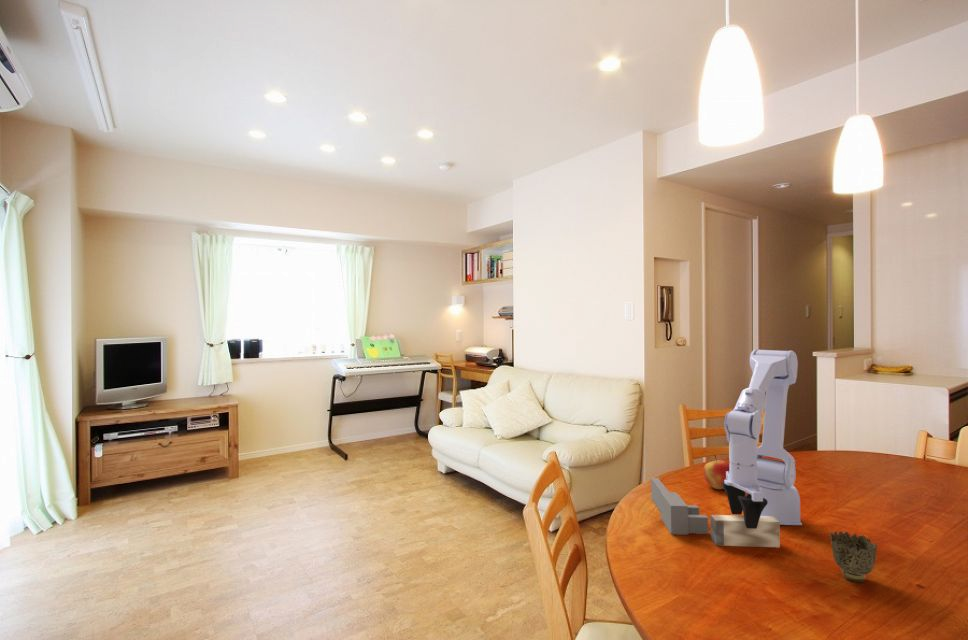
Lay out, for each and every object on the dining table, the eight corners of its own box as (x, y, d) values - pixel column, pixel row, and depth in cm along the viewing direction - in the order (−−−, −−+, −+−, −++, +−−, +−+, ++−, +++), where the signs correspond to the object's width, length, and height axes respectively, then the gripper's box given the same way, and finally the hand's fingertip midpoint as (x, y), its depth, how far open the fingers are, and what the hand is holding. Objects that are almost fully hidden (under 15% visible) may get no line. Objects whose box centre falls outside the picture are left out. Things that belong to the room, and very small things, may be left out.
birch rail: (773, 541, 111) (772, 516, 111) (779, 547, 108) (779, 521, 108) (710, 539, 113) (710, 514, 113) (715, 545, 110) (715, 520, 110)
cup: (886, 591, 91) (885, 549, 91) (842, 587, 92) (842, 546, 92) (863, 570, 98) (863, 532, 98) (823, 567, 100) (823, 529, 99)
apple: (722, 494, 140) (722, 461, 140) (698, 486, 147) (697, 454, 147) (738, 489, 144) (738, 456, 144) (714, 481, 151) (713, 450, 151)
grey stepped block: (679, 498, 137) (679, 474, 137) (709, 535, 115) (709, 506, 115) (647, 498, 138) (647, 474, 138) (671, 534, 115) (670, 505, 115)
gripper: (713, 453, 118) (713, 507, 118) (738, 472, 104) (739, 534, 104) (742, 453, 117) (743, 508, 117) (772, 473, 103) (773, 535, 103)
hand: (743, 520), depth 110 cm, fingers open, 7 cm apart
